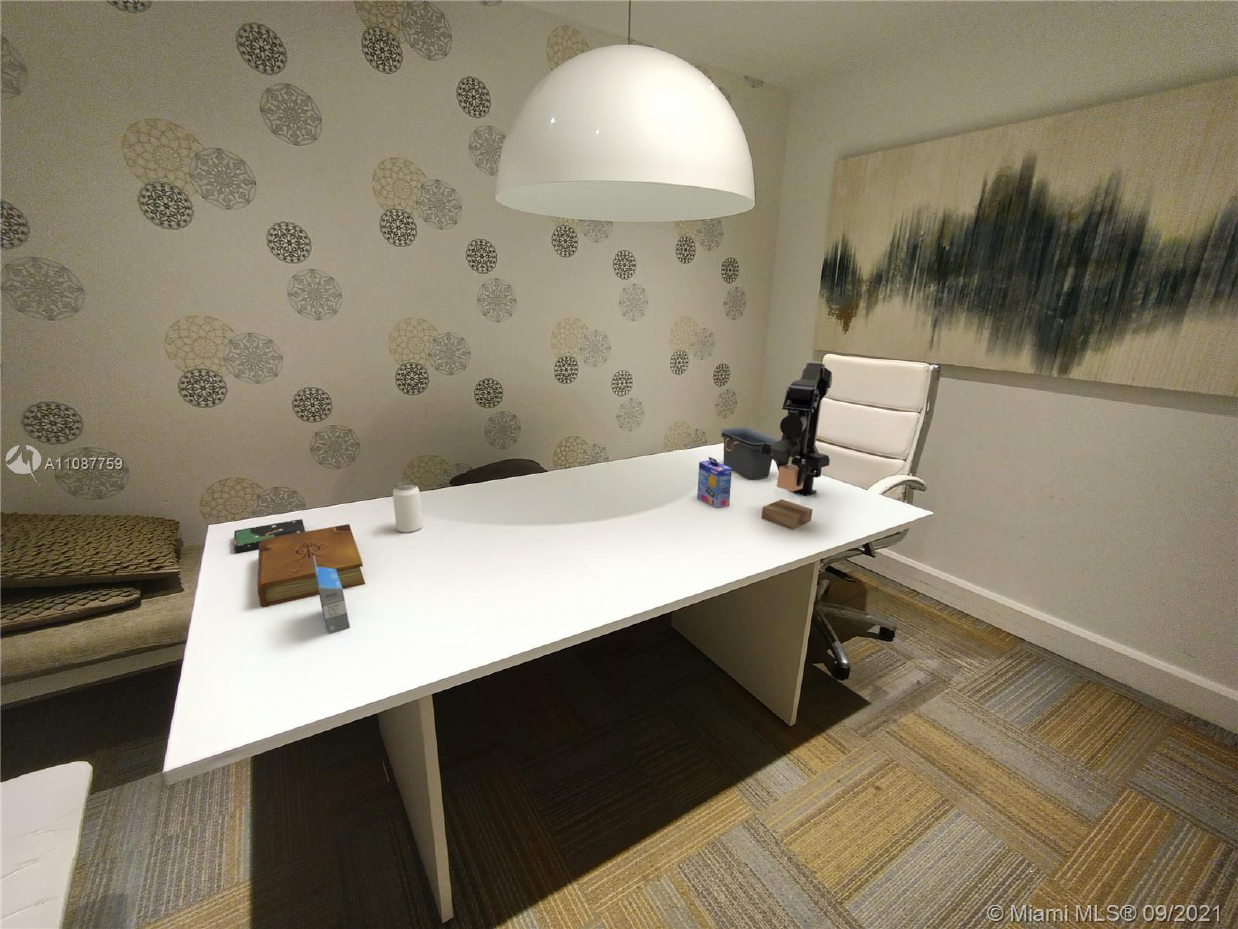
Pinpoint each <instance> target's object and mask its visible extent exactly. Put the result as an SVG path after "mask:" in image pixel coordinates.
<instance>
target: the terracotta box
mask: <svg viewBox="0 0 1238 929" xmlns="http://www.w3.org/2000/svg"><path fill="white" fill-rule="evenodd" d="M798 472H799V468H798V466H796V465H793V464H791V463H788V464H787V465H783V466H780V467H779V472H778V474H777V482H776V487H778V488H780V489H783V490H786V491H788V492H792V493H794V492H793V491H796V490H799V489H802V488H803V482H802V484H801V485H800V486H797V478H798Z"/></svg>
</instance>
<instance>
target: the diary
mask: <svg viewBox="0 0 1238 929" xmlns="http://www.w3.org/2000/svg"><path fill="white" fill-rule="evenodd" d="M314 555H315V562H316V567H323V568H331V569H336V570H337V573H338V576H339V579H340V582H341V585H342V588H343V590H346V589H351V588H355V587H360V586H363V585H364V586H365V585H366V582H365V578H364V575H363V573H362V572H363V571H362V570H361V568H362V567H364V566H363V560H362V558H361V554H360V551H359V549H358V546H357V543H356V540H355V537H354V534H353V531H352V528H351V524H350V523H348V524H347V523H346V524H340V525H337V526H336V525H335V526H330V527H325V528H319V529H313V530H308V531H307V530H305V532H301V533H295V534H289V535H284V536H278V537H272V538H267V539H262V541H261V542H260V543H259V550H258V559H257V560H258V562H257V563H258V564H257V582H256V583H257V584H256V589H257V595H258V599H259V604H260V607H262V608H267V607H268V608H269V607H271V606H276V605H281V604H285V603H289V602H293V601H298V600H302V599H306V598H311V597H315V596H319V591H318V586H317V580H316V575H315V570H314Z"/></svg>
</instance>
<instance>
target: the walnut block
mask: <svg viewBox="0 0 1238 929" xmlns="http://www.w3.org/2000/svg"><path fill="white" fill-rule="evenodd" d="M812 515H813V508H810V507H806V506H804V505H800V504H798V503H795V502H791V501H788V500H785V499H779V500H777V501H776V500H775V501H773V502H771V503H769V504H767V505H764V506H762V510H761V520H763V521H767V522H769V523H771V524H775V525H778V526H781V527H784V528H786V529H788V530H792V531H793V530H795V529H798V528H799V527H801V526H803V525H805V524H807V523H809V522H811V520H812Z"/></svg>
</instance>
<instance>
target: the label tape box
mask: <svg viewBox="0 0 1238 929" xmlns="http://www.w3.org/2000/svg"><path fill="white" fill-rule="evenodd" d="M314 570H315V575H316V580H317V586H318V591H319V595H318V597H319V601H320V605H321V610H322V616H323V620H324V624H325V627H326V631H327V633H328V634H332V633H335V632H340V631H342V630H345V629H349V628H351V625H350V621H349V620H350V619H349V616H348V610H347V605H346V600H345V594H344V589H343V588H342V585H341V582H340V579H339V576H338V573H337V570H336V569H331V568H323V567H316V562H315V555H314Z"/></svg>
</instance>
